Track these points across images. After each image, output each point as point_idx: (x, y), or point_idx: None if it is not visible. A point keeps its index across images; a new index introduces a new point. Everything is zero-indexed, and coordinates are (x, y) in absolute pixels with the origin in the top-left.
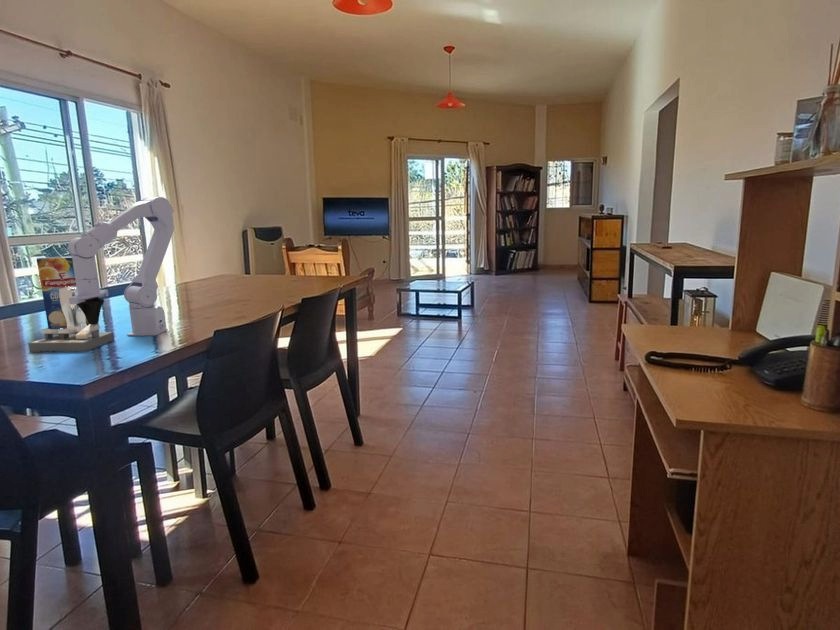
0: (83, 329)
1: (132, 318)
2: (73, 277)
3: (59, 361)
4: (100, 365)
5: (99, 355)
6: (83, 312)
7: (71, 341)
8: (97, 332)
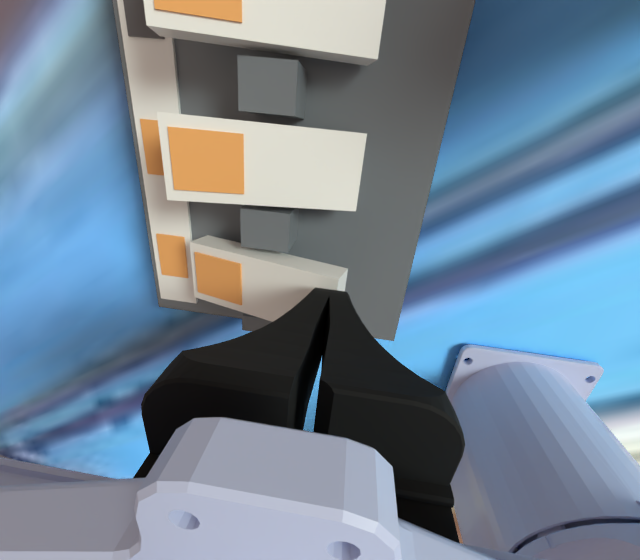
0: (260, 263)
1: (500, 453)
2: None
3: (36, 259)
4: (42, 404)
5: (135, 360)
6: (265, 326)
7: (158, 235)
8: None
